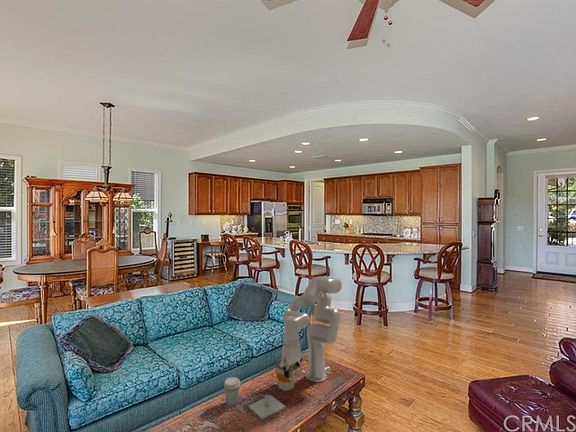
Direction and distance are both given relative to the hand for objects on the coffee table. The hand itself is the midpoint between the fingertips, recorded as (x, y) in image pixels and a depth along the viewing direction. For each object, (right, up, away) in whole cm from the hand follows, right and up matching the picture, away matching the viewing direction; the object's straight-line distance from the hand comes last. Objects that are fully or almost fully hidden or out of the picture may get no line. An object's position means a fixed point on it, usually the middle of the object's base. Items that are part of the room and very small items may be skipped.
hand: (292, 374), depth 167 cm
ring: (0, -1, 0) cm, 1 cm away
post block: (-13, -15, -4) cm, 20 cm away
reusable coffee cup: (-3, -15, +16) cm, 22 cm away
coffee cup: (-31, -15, -1) cm, 35 cm away
